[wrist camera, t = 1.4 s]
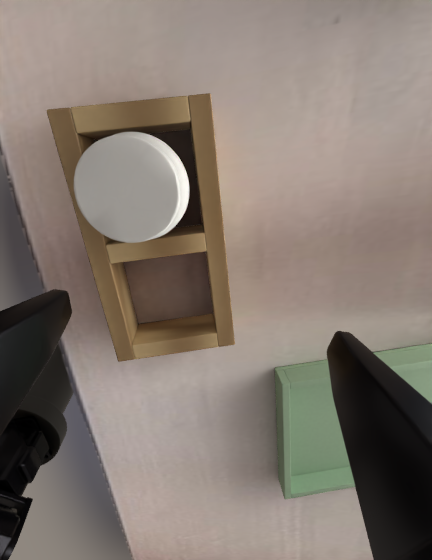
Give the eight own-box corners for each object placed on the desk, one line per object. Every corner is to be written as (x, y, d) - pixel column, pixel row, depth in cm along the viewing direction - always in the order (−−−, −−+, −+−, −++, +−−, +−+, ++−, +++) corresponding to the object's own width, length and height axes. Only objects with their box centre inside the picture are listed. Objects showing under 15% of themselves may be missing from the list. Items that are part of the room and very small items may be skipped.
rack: (126, 338, 26) (118, 362, 23) (68, 119, 20) (45, 109, 16) (228, 323, 27) (234, 344, 24) (206, 105, 20) (210, 92, 17)
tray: (278, 478, 36) (284, 499, 34) (274, 367, 29) (282, 384, 27) (480, 442, 37) (499, 460, 35) (519, 329, 31) (546, 342, 29)
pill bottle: (177, 230, 23) (171, 269, 14) (107, 209, 22) (50, 236, 13) (197, 159, 21) (206, 149, 12) (122, 132, 20) (69, 98, 11)
